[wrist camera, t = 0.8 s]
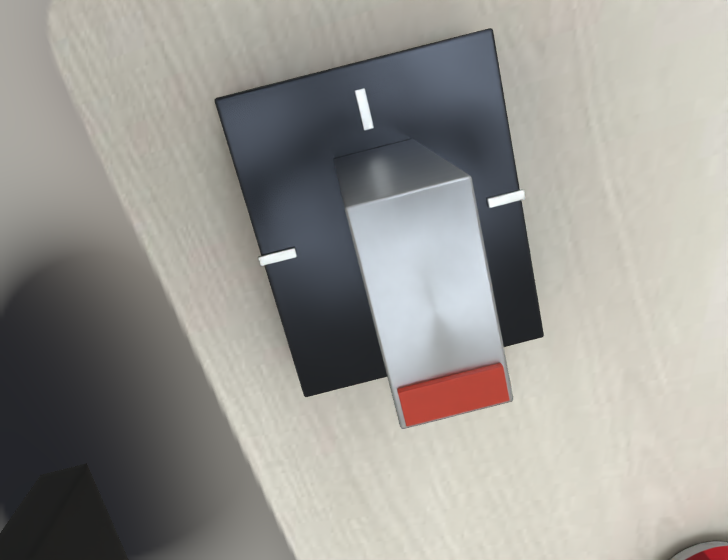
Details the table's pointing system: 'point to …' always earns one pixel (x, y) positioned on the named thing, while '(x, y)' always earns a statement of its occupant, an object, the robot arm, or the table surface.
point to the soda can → (704, 552)
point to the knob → (425, 280)
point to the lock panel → (324, 200)
